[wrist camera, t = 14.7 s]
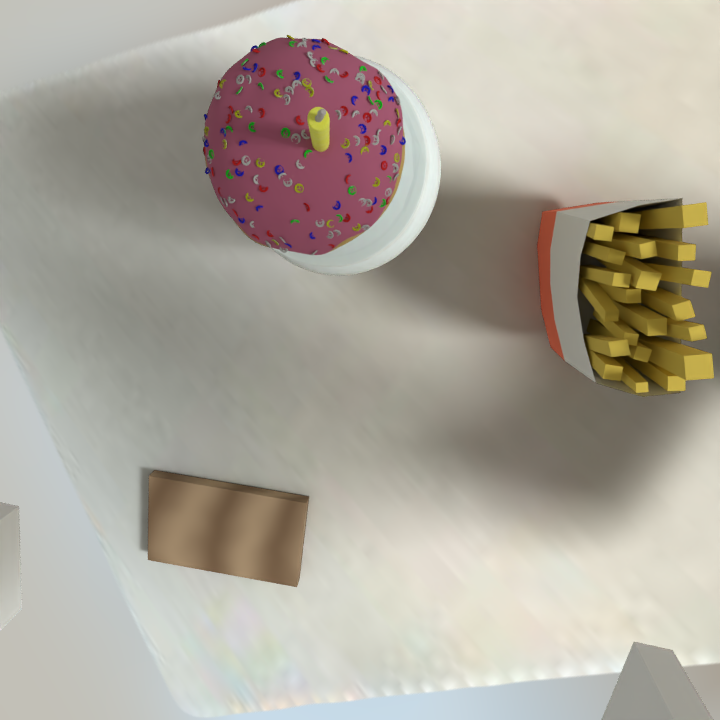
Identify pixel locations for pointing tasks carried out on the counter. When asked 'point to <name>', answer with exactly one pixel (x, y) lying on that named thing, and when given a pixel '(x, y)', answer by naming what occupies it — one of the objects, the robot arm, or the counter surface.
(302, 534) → the cutting board
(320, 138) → the cupcake
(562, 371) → the counter surface
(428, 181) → the supplement tub
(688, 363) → the french fries container
